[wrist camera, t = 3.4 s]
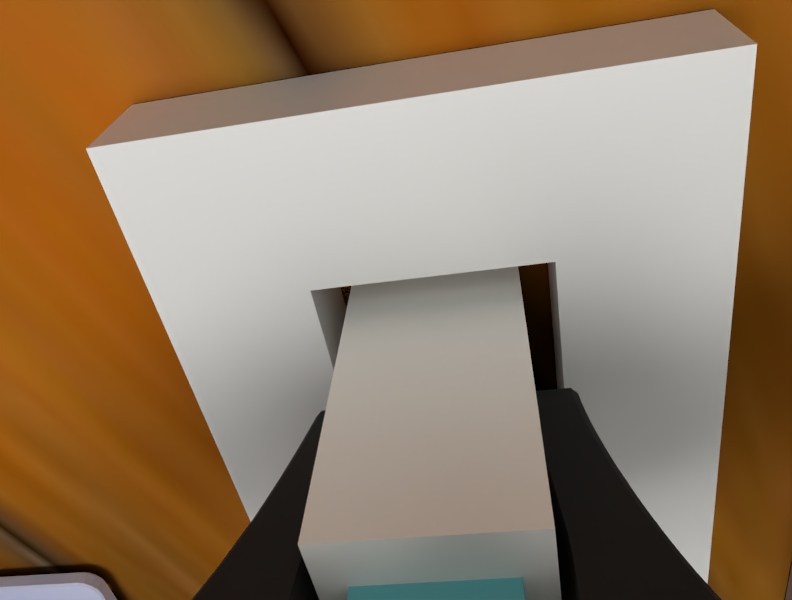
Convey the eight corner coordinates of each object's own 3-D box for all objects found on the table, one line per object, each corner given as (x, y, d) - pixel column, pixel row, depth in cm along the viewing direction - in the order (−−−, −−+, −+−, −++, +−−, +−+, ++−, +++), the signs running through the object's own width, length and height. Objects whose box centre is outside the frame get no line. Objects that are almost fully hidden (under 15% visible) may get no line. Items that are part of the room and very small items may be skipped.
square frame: (684, 514, 16) (707, 584, 15) (301, 537, 18) (287, 604, 16) (714, 9, 10) (757, 43, 9) (131, 104, 12) (85, 148, 10)
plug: (533, 427, 15) (589, 855, 9) (399, 438, 15) (365, 855, 9) (514, 242, 13) (572, 658, 6) (356, 261, 13) (272, 668, 7)
